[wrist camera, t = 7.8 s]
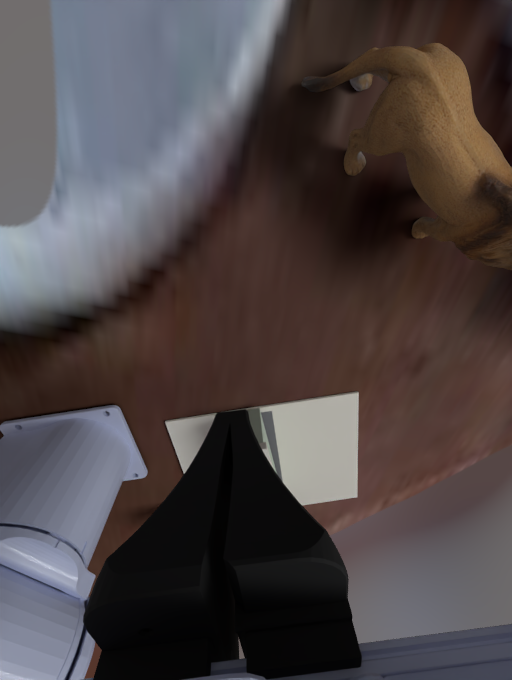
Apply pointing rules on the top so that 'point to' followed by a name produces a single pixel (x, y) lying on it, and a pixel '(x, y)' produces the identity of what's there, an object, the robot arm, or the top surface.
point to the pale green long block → (261, 433)
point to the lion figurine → (434, 145)
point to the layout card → (296, 444)
